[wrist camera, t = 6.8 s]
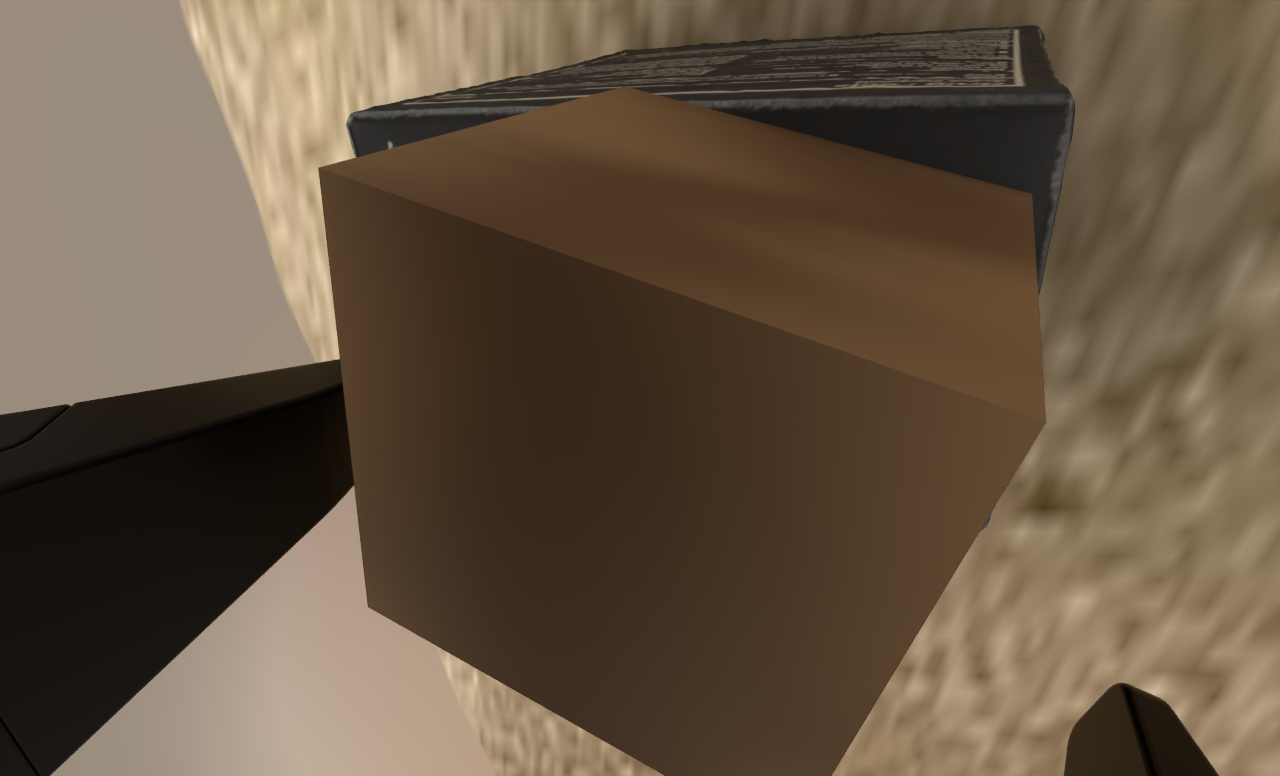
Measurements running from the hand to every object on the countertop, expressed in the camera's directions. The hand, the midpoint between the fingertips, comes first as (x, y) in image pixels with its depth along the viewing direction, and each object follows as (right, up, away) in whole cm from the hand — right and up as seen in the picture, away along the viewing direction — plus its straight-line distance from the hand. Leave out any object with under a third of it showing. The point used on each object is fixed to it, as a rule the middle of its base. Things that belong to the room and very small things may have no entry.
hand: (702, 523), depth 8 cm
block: (+1, +3, +1) cm, 3 cm away
